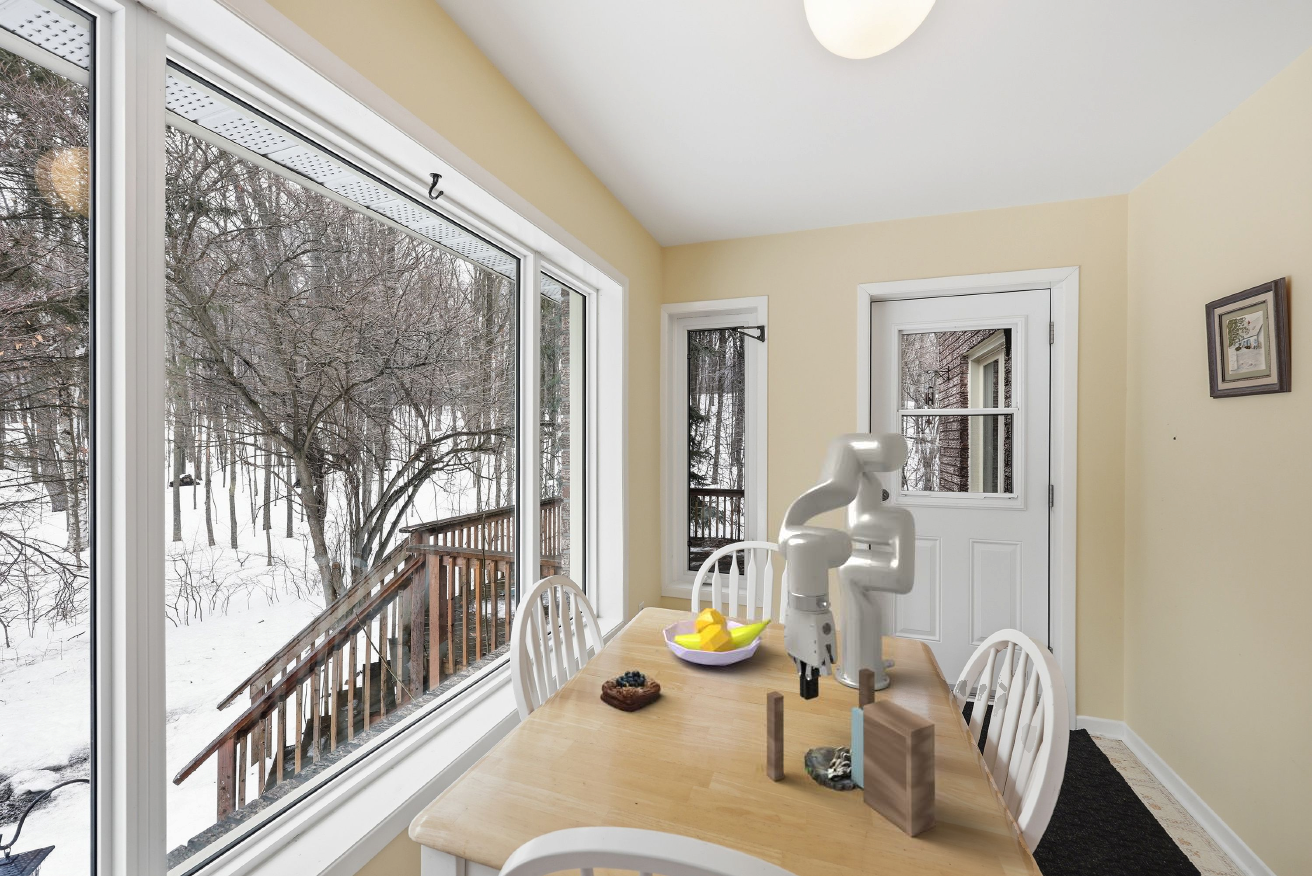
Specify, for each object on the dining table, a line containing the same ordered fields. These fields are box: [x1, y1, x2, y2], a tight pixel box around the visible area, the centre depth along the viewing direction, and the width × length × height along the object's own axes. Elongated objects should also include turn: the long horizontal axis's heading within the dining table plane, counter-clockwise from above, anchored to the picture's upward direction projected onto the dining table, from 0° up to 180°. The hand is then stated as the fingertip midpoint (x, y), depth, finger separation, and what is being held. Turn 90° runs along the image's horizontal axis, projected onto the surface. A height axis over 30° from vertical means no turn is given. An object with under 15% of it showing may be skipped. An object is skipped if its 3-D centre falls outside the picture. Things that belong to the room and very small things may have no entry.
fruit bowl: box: [662, 607, 772, 667], centre depth 146 cm, size 28×27×11 cm
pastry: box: [600, 670, 662, 713], centre depth 122 cm, size 11×12×6 cm
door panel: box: [850, 706, 863, 789], centre depth 87 cm, size 1×10×12 cm, turn 27°
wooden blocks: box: [766, 668, 936, 838], centre depth 89 cm, size 24×21×15 cm
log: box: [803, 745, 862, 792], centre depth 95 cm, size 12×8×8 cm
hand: (809, 696), depth 102 cm, fingers closed
